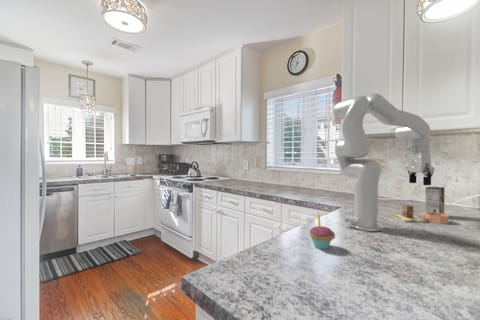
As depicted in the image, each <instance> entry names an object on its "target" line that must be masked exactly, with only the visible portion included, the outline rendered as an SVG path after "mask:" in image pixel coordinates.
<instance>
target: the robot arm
mask: <svg viewBox="0 0 480 320" xmlns="http://www.w3.org/2000/svg"><path fill="white" fill-rule="evenodd" d="M332 113H333V115H334V116H335V118H336V119H338V120H343V121H342V124H341V132H342V135H343V138H340V139H339V140H338V141H337V142H336V144H335V145H334V153H335V156H336V159H337V161H338V164H339V167H340V170H341V172H342V174H343V175H344V176H345V177H347V178H350V179H357V181H356V183H355V185H354V190H353V199H354V201H353V202H354V203H353V215H351V217H349V218H348V217H344V218H343V222H344V223H348V224H350V227H352V228H353V229H356V230H360V231H365V232H380V231H382V225H380V224H379V223H378V222H379V220H378V219H379V218H378V215H379V213H378V211H379V209H378V207H379V181H380V177H381V172H382V167H381V164H380V163H379V162H378V160H375V159H372V158H365V157H367V156H368V155H369V154H370V151H371V150H370V144H369V142H368V139H367V136H366V132H365V129H364V127H363V126H364V125H363V121H364V118H365V115H367V114H370V115H371V116H373V117H374V118H375V119H376V120H378V121H380V122H381V123H382V124H383V125H385V126H386V125H388V126H394V127H396V128H395V130H394V133H393V134H394V137H395V138H396V139H397V140H399V141H410V153H409V155H408V162H407V163H408V165H407V167H406V169H407V173H408V176H409V177H408V180H409V181H408V182H409V183H410V184H417V173H418V174H419V173H420V174H421V173H422V175H423V177H422V179H423V181H422V182H423V183H422V185H423V186H432V177H433V175H434V173H435V169H436V168H435V167H434V166H432V160H431V153H430V149H431V148H430V147H431V146H430V144H431V143H430V141H431V140H430V136H431V135H430V134H431V127H430V125H429V124H428V122H427V121H425V120H424V118H422V117H421V116H419V115H418V114H414V113H411V112H409V111H405V110H402V109H401V110H400V109H399V108H396V107H395V106H394V105H393V104H392V103H391V102H390V101H389V100H387V99H386V98H385V97H384V96H383V95H381V94H380V93H371V94H367V95H357V96H353V97H350V98H348V99H345V100H342V101H339V102H337V103H336V104H335V105H334V106H333V110H332Z"/></svg>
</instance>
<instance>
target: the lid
mask: <svg viewBox="0 0 480 320" xmlns="http://www.w3.org/2000/svg"><path fill="white" fill-rule="evenodd" d="M389 216H390V217H389V218H391V217H393V218H392V219H394V218H395V219H394V220H396V219H398V220H397V221H399V220H400V221H399V222H401V221H403V222H402V223H404V222H426V223H425V224H428V223H427V222H428V221H427V220H425V219H424V218H421V217H419V216H416V215H414V205H412V204H411V205H410V204H402V214H393V213H392V214H390V213H389Z"/></svg>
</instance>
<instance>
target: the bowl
mask: <svg viewBox="0 0 480 320" xmlns="http://www.w3.org/2000/svg"><path fill="white" fill-rule="evenodd" d="M423 215H424V216H423V219H425V220H427V222H428V223H430V224H431V223H432V224H438V225H449V222H450V218H449V217H450V215H449V214H445V213H444V214H442V213H435V212H426V211H424V212H423Z"/></svg>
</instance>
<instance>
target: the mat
mask: <svg viewBox="0 0 480 320" xmlns="http://www.w3.org/2000/svg"><path fill="white" fill-rule="evenodd" d="M388 217H389V218H391V219H394V220H396V221H399V222H402V223H404V224H405V223H407V224H409V223H411V224H413V223H414V224H418V223H419V224H428V223H429V222H428V221H427V223H426V222H403V221H400V220H398V219H395V218H393V217H390V215H389V216H388Z"/></svg>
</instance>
